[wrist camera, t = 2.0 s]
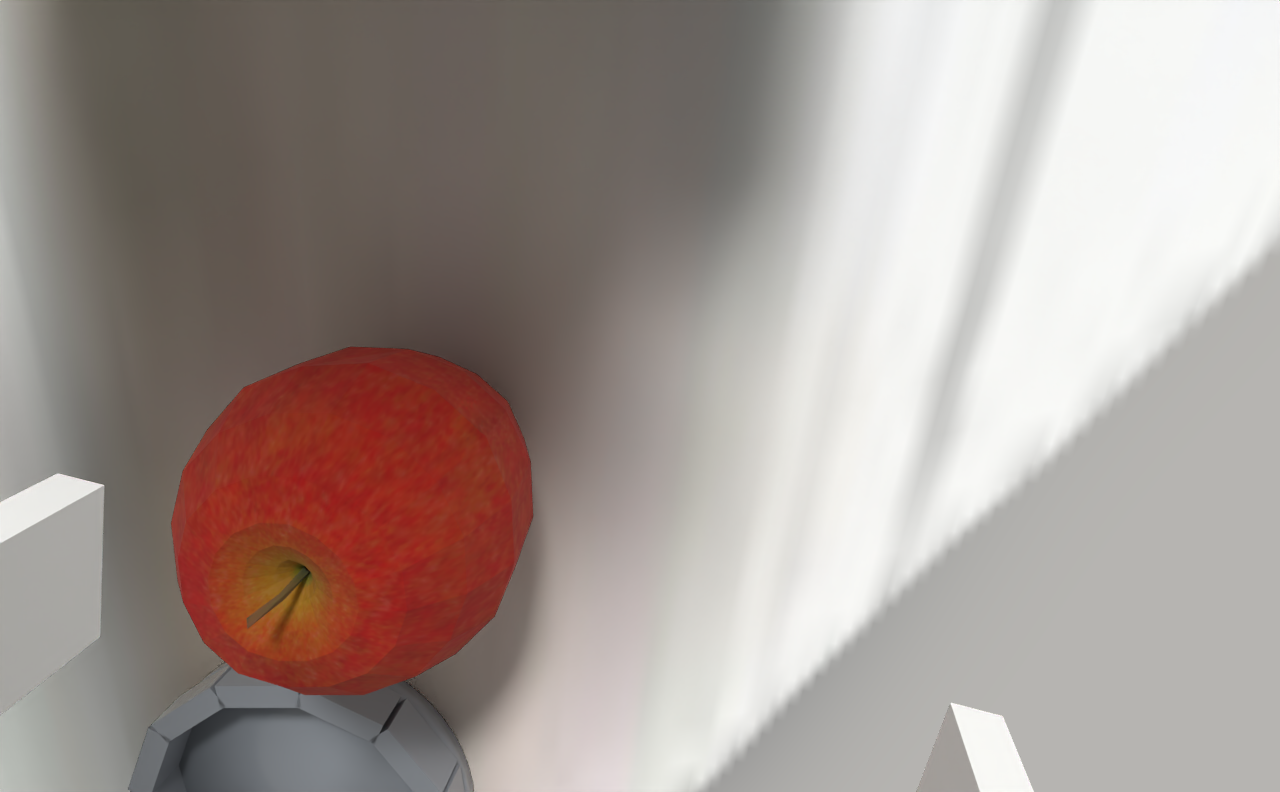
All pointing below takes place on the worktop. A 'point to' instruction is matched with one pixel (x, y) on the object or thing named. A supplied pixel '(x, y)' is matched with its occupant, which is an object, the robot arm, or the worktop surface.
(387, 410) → the apple
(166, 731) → the grey shallow round dish
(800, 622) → the worktop surface
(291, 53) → the worktop surface
